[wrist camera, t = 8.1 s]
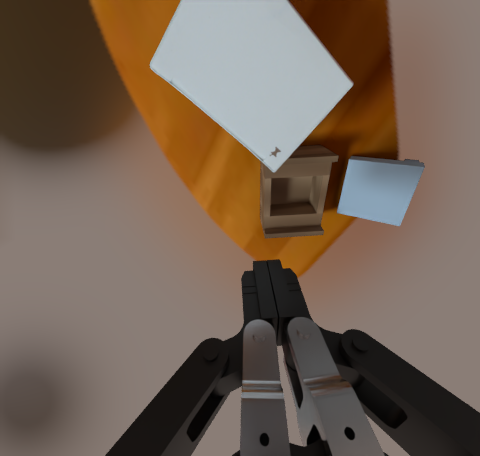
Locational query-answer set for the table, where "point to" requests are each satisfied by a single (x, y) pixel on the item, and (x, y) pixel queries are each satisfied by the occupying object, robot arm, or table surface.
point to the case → (296, 193)
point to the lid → (379, 188)
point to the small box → (252, 71)
